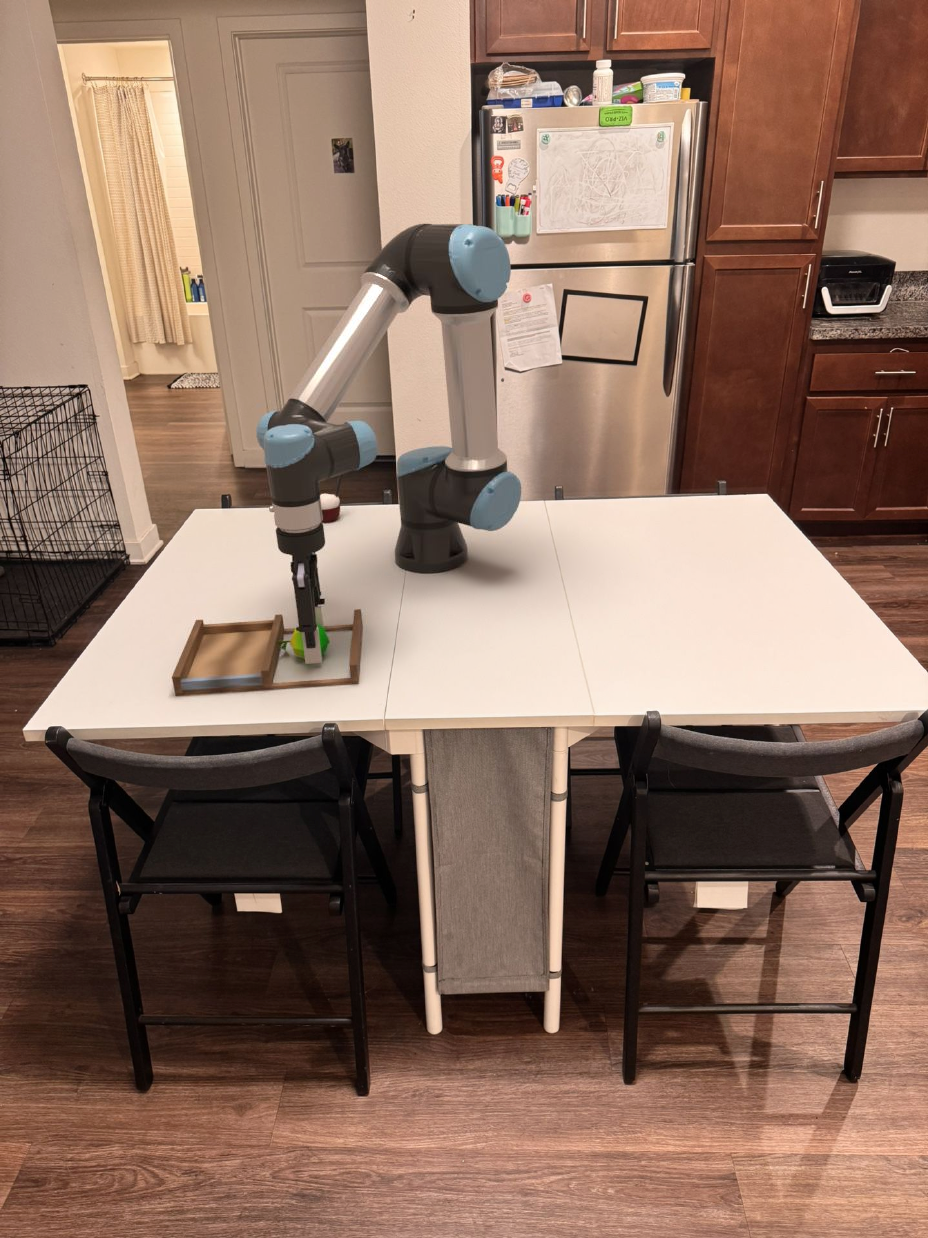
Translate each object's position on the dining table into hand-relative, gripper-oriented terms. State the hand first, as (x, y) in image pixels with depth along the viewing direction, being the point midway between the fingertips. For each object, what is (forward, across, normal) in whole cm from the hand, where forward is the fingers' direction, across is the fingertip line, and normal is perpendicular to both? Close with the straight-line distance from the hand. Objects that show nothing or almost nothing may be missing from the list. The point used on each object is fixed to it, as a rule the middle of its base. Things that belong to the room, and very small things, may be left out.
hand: (315, 651), depth 157 cm
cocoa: (+1, -66, -2) cm, 66 cm away
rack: (+1, 0, -7) cm, 7 cm away
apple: (+1, 0, -2) cm, 2 cm away
